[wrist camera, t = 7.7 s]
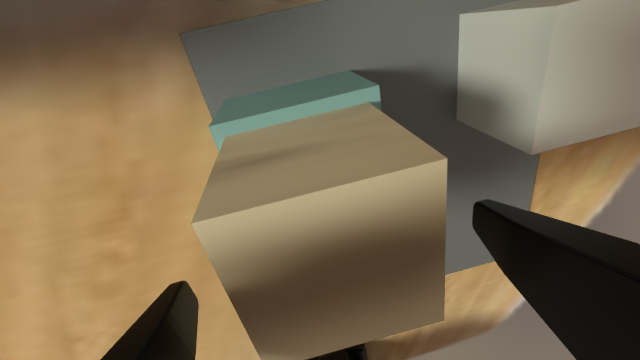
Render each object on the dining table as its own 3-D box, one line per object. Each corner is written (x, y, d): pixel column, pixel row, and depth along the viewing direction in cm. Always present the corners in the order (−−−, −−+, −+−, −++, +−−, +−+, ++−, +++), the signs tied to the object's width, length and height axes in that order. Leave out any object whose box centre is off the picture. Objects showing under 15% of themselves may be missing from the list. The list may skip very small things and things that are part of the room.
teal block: (364, 178, 19) (392, 221, 15) (262, 204, 19) (260, 256, 15) (348, 70, 16) (378, 85, 12) (224, 99, 16) (208, 126, 11)
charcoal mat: (516, 249, 26) (521, 253, 26) (289, 312, 25) (290, 318, 25) (568, -55, 16) (578, -58, 15) (182, 33, 15) (179, 33, 14)
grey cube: (543, 97, 19) (650, 123, 14) (456, 119, 19) (531, 155, 13) (562, -10, 16) (706, -30, 11) (459, 14, 16) (556, 5, 10)
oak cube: (381, 217, 15) (444, 320, 10) (266, 247, 15) (266, 370, 9) (368, 102, 12) (447, 158, 7) (225, 136, 12) (190, 223, 6)
